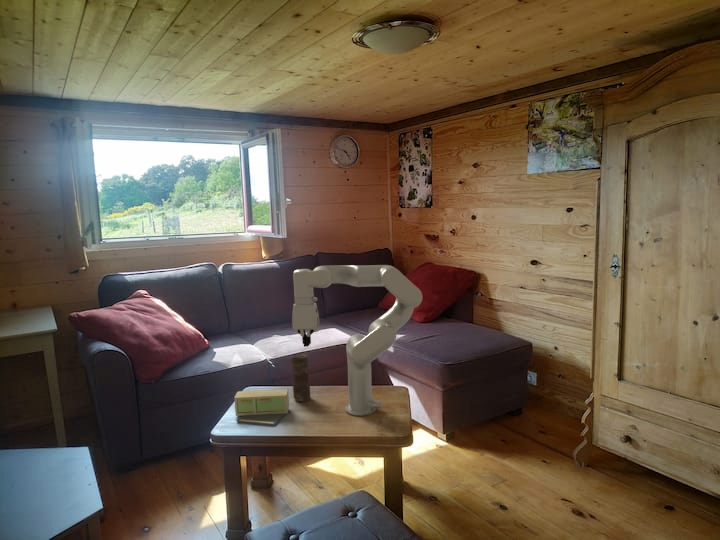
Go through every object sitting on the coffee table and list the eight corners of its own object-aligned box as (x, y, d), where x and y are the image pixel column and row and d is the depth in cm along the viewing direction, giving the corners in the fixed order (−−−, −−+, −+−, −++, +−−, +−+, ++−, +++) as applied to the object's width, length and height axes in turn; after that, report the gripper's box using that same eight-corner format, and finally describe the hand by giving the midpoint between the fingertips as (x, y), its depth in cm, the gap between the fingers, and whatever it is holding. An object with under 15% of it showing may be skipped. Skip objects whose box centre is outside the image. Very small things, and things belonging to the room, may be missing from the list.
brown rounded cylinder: (290, 401, 213) (288, 357, 210) (297, 395, 220) (295, 352, 217) (306, 403, 211) (304, 358, 208) (313, 396, 218) (311, 353, 215)
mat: (288, 411, 203) (288, 409, 203) (274, 426, 190) (274, 424, 190) (253, 408, 207) (252, 406, 207) (237, 422, 194) (236, 420, 193)
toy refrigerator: (287, 414, 198) (234, 416, 197) (289, 407, 206) (238, 408, 205) (286, 396, 197) (233, 397, 196) (288, 389, 204) (237, 390, 203)
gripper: (325, 298, 195) (327, 343, 198) (289, 298, 198) (291, 342, 201) (320, 302, 188) (322, 348, 191) (283, 302, 191) (286, 348, 193)
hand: (306, 345), depth 196 cm, fingers closed
